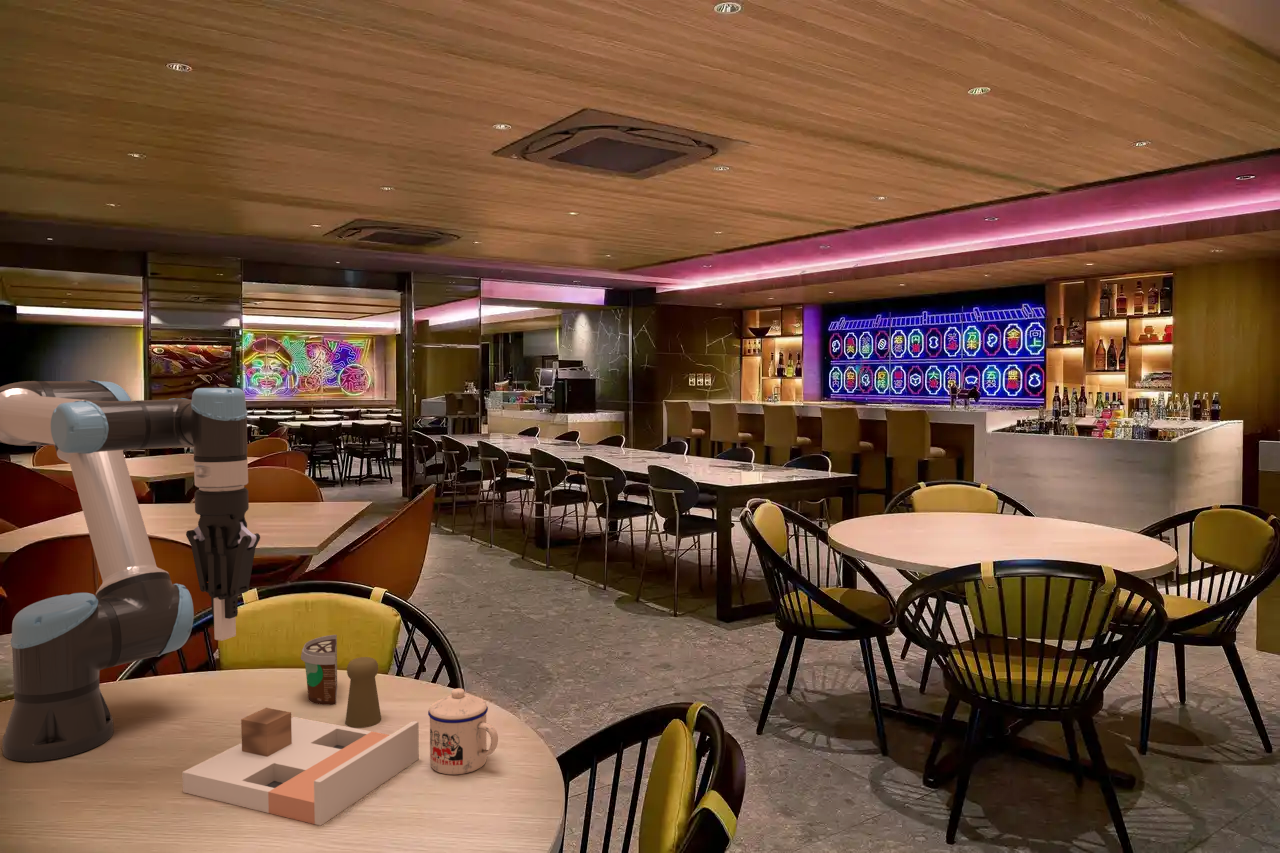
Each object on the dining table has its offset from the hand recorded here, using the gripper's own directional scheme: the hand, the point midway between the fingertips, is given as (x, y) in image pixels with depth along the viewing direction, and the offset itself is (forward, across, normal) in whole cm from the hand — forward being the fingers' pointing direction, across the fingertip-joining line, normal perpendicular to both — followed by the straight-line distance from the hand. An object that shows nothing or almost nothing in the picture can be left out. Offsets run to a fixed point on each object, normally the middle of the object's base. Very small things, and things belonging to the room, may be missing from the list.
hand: (225, 637), depth 137 cm
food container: (+20, -5, +26) cm, 33 cm away
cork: (+20, +10, +20) cm, 30 cm away
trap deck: (+19, +15, 0) cm, 24 cm away
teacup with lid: (+20, +36, +12) cm, 43 cm away
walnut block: (+16, +8, 0) cm, 18 cm away
